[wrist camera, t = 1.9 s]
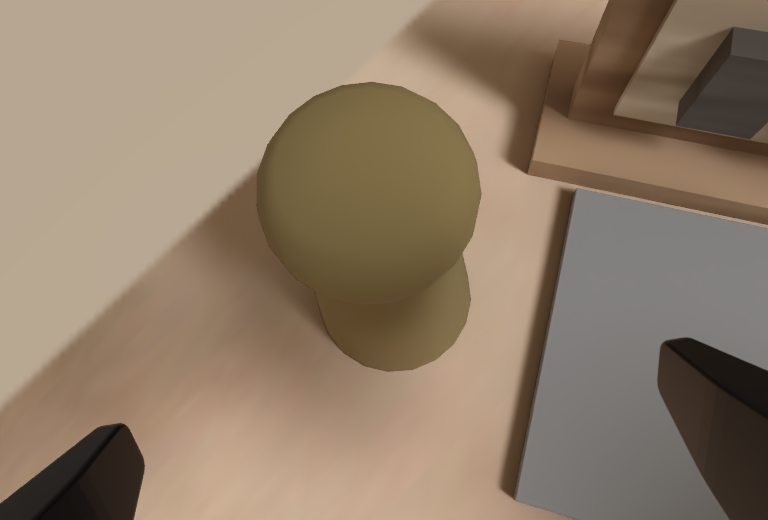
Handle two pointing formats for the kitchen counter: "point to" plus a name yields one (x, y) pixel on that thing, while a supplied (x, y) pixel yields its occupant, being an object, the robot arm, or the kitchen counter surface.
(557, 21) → the kitchen counter surface
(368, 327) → the cork
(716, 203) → the switch panel
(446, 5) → the kitchen counter surface
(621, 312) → the mat
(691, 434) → the robot arm
